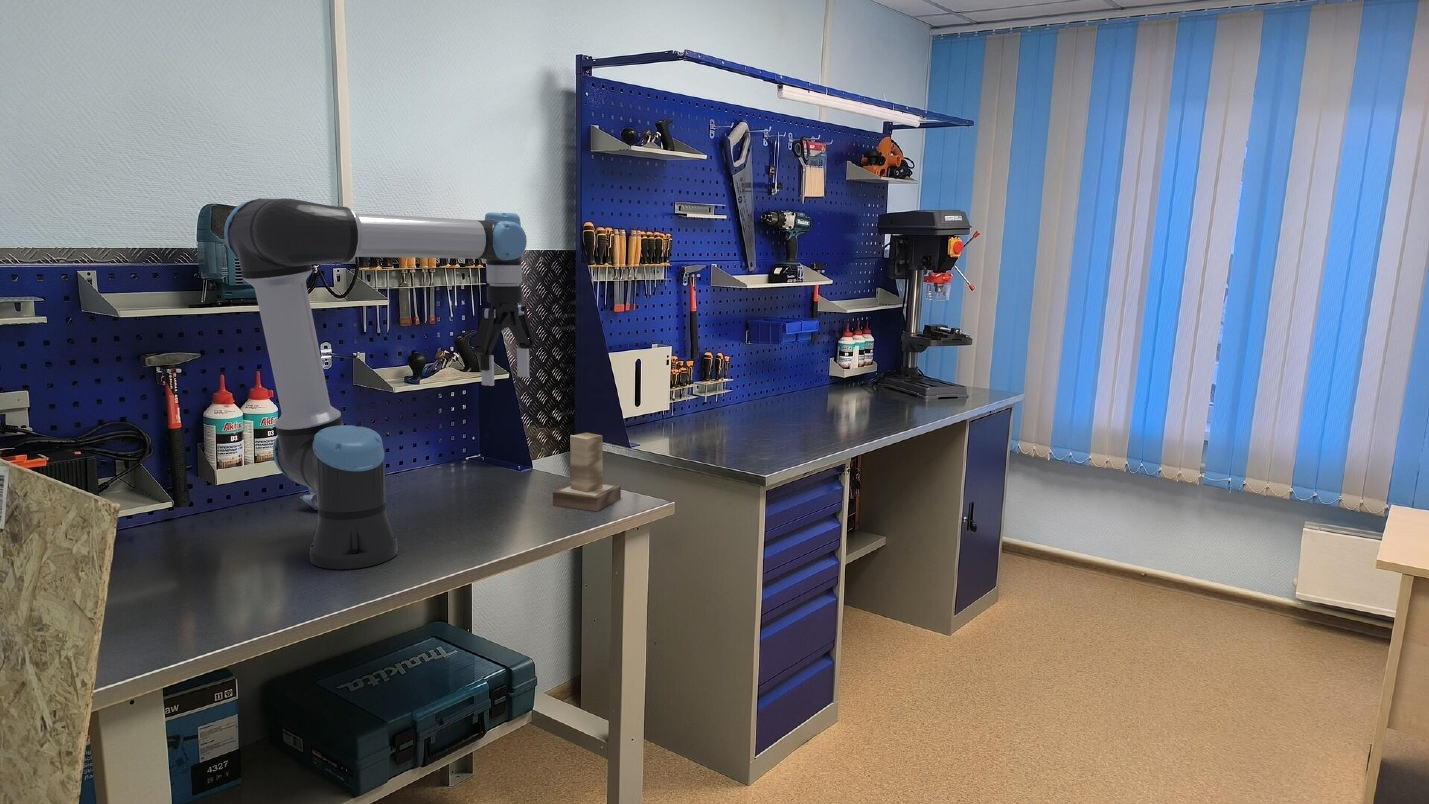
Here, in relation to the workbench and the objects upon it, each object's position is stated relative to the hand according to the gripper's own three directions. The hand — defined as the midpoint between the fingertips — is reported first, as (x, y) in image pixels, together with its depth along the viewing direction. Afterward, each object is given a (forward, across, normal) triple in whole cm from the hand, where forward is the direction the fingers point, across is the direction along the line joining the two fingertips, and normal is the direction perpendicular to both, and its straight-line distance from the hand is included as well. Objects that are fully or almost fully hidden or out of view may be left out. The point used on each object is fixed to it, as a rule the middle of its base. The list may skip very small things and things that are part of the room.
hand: (506, 381), depth 208 cm
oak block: (+23, -4, +18) cm, 30 cm away
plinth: (+27, -4, +18) cm, 32 cm away
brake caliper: (+27, +22, -30) cm, 46 cm away
